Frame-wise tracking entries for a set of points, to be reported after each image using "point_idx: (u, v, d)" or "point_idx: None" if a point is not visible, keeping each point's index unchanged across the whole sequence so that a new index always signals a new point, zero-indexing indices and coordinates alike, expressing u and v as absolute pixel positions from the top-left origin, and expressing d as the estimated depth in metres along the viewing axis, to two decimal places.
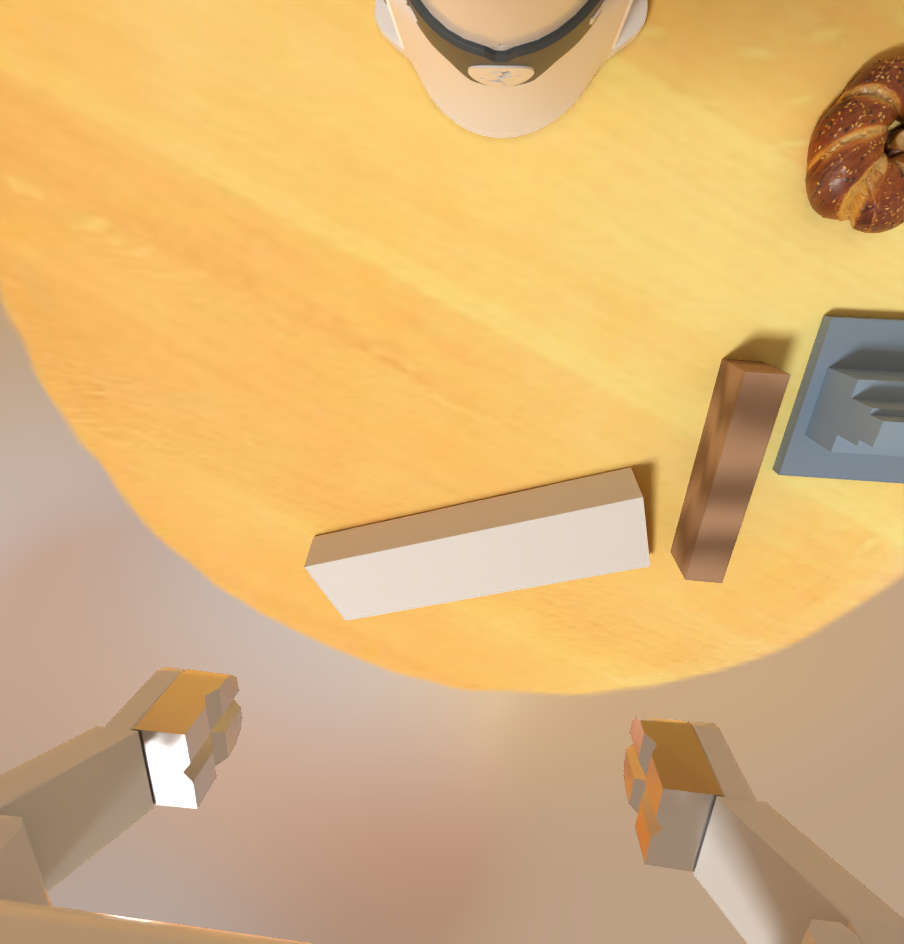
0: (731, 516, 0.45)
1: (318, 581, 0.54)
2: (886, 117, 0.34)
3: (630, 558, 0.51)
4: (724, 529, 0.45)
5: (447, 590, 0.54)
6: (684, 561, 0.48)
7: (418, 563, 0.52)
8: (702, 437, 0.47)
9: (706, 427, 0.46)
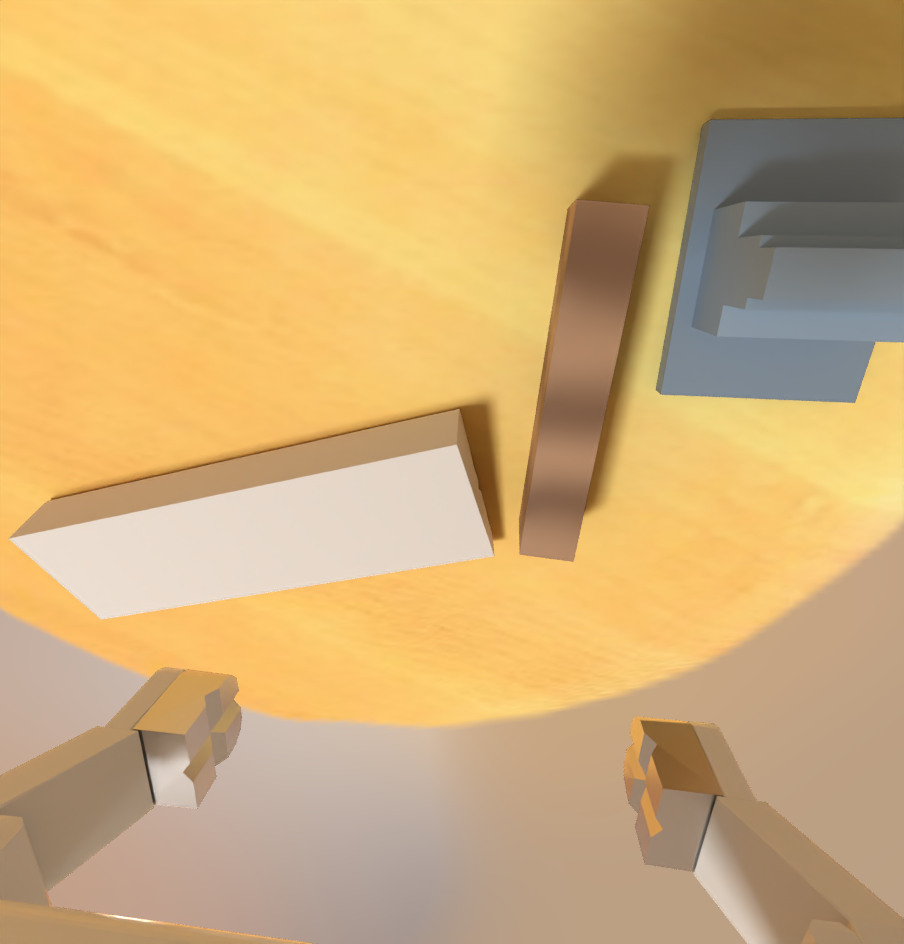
0: (578, 453, 0.29)
1: (38, 560, 0.38)
2: None
3: (462, 543, 0.35)
4: (568, 475, 0.30)
5: (222, 581, 0.39)
6: (522, 528, 0.33)
7: (166, 539, 0.36)
8: (547, 339, 0.31)
9: (550, 321, 0.30)
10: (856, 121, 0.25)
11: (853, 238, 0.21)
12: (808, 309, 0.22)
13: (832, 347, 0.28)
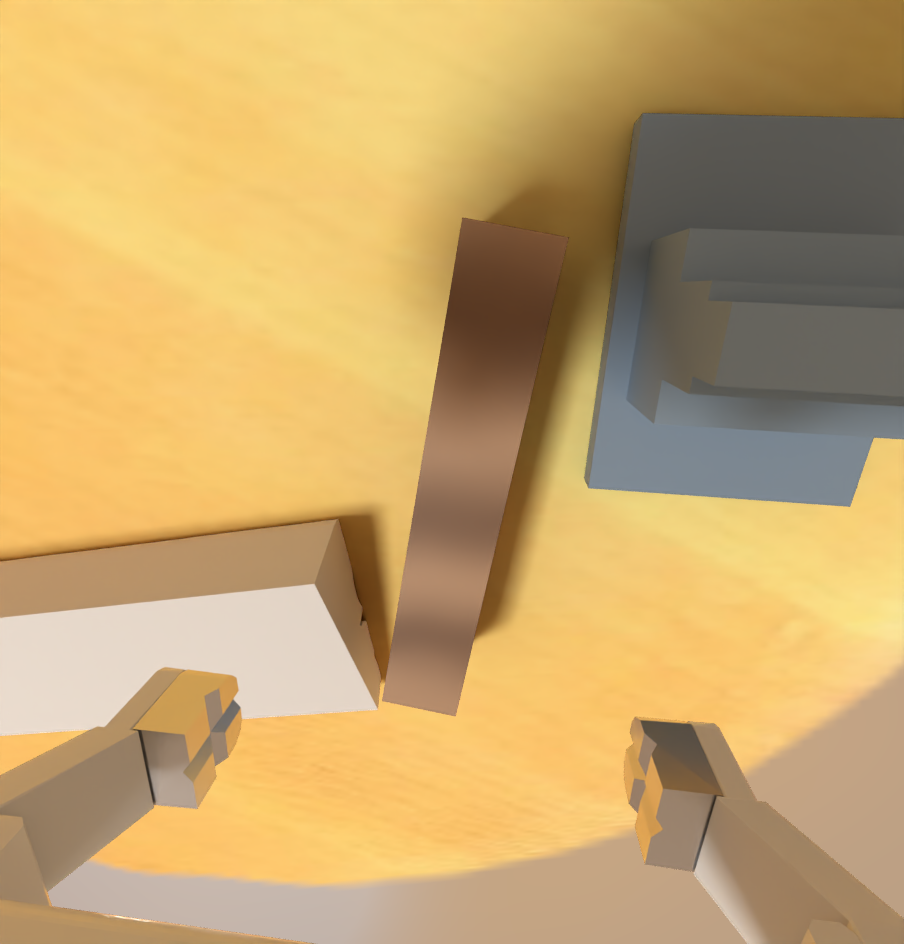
0: (462, 576, 0.20)
1: None
2: None
3: (335, 694, 0.26)
4: (449, 604, 0.21)
5: (17, 714, 0.29)
6: None
7: None
8: None
9: None
10: (848, 121, 0.17)
11: (856, 289, 0.13)
12: (787, 397, 0.14)
13: None
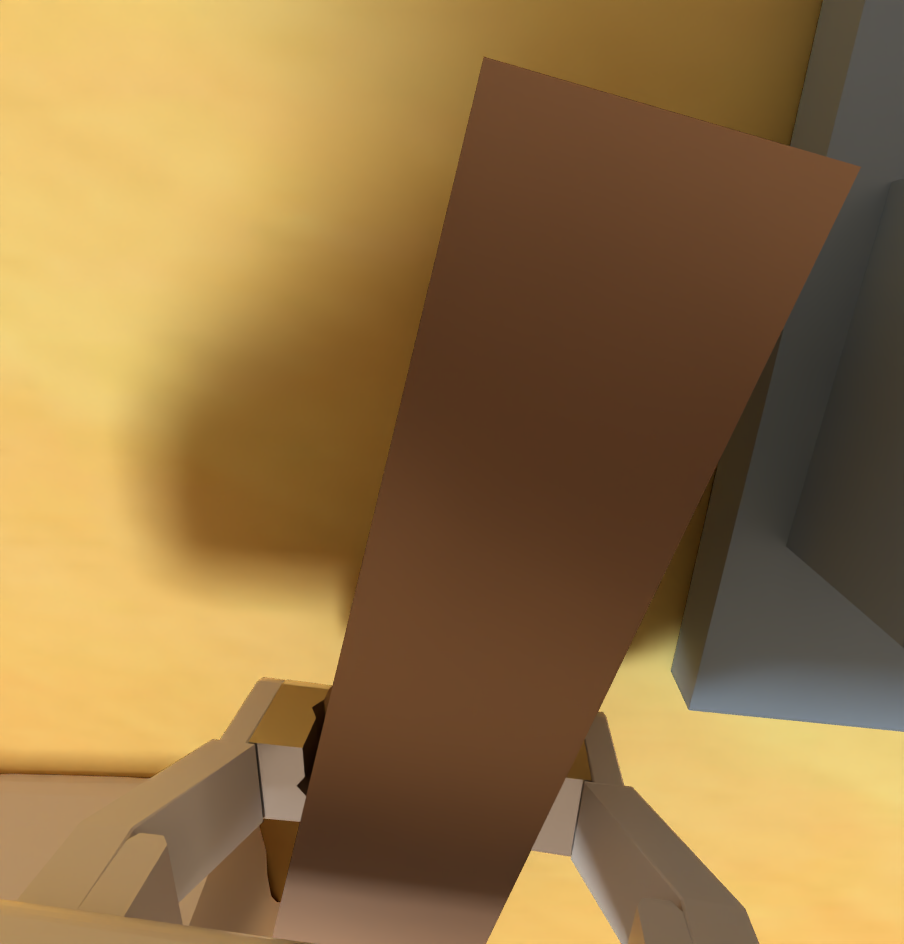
0: None
1: None
2: None
3: None
4: None
5: None
6: None
7: None
8: None
9: None
10: None
11: None
12: None
13: None
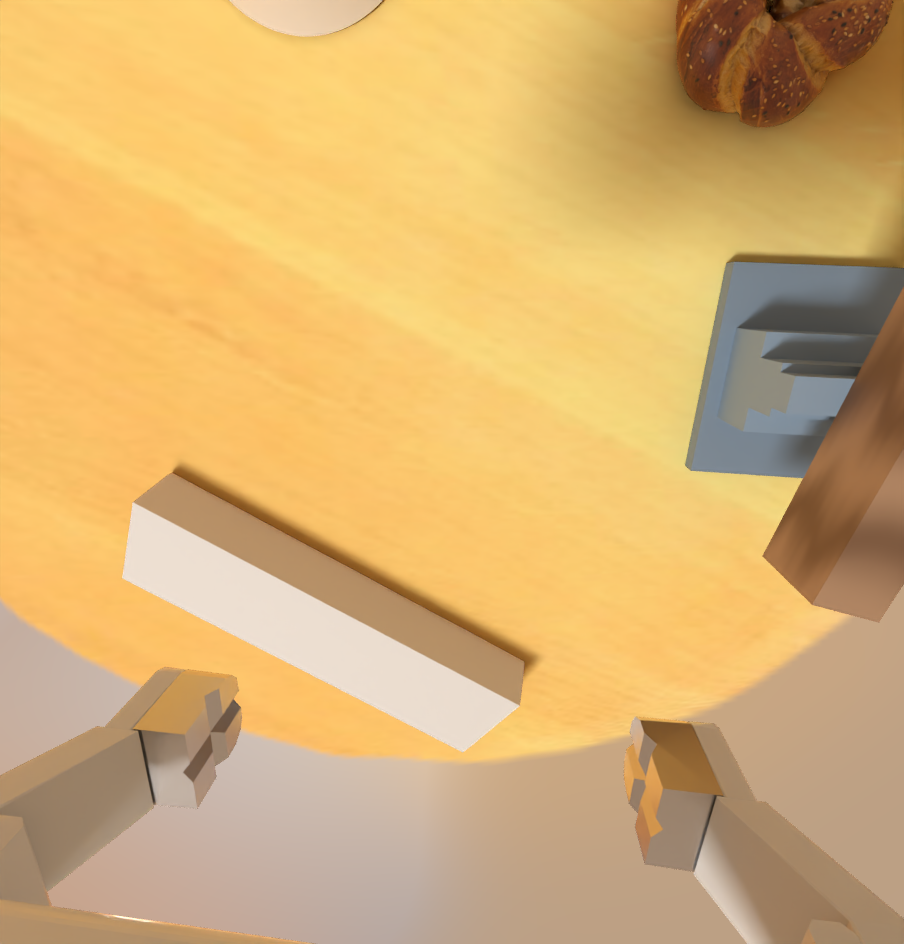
0: None
1: (134, 526, 0.39)
2: None
3: (454, 736, 0.45)
4: None
5: (264, 636, 0.44)
6: (810, 570, 0.26)
7: (262, 595, 0.41)
8: (884, 339, 0.25)
9: (900, 316, 0.24)
10: (847, 268, 0.31)
11: (852, 368, 0.27)
12: (818, 418, 0.28)
13: None
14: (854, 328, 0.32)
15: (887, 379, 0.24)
